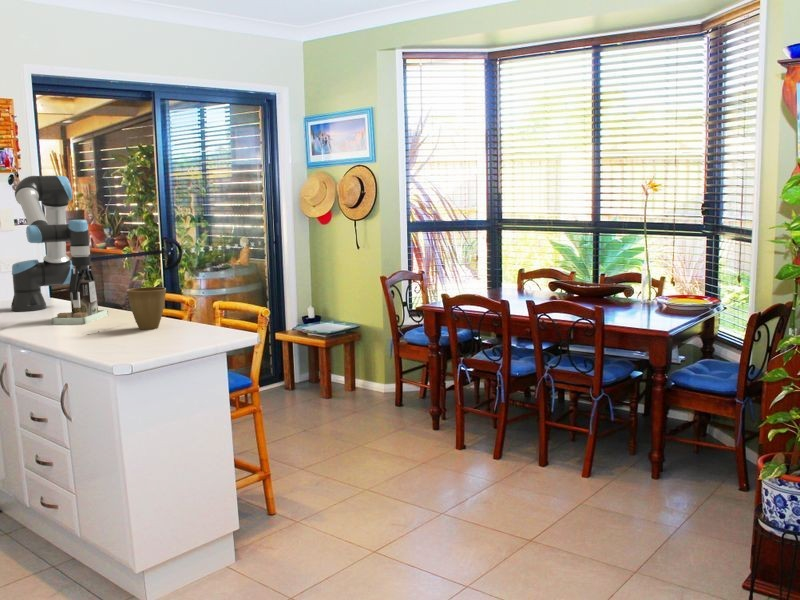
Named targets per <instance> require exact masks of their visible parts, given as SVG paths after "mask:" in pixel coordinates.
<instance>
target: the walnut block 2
mask: <svg viewBox="0 0 800 600" xmlns="http://www.w3.org/2000/svg"><path fill="white" fill-rule="evenodd" d="M87 316H88V314H87V313H82V312H79V313H75V314H73V318H84V317H87Z"/></svg>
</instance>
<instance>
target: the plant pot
mask: <svg viewBox="0 0 800 600" xmlns="http://www.w3.org/2000/svg"><path fill="white" fill-rule="evenodd" d="M166 292H167V288H166V287H160V286H154V287H153V286H149V287H148V286H147V287H144V286H143V287H134V288H127V290H126V293H127V297H128V298H127V299H128V301H129V302H128V303H129V305H130V309H131V312H132V315H133V318H134V320H135V323H136V325H137V327H138V329H139V330H143V329H147V330H154V329H155V328H156V329H158V328H159V326H160V323H161V320H162V316H163V312H164V308H165V301H166V295H167V293H166ZM156 329H155V330H156Z"/></svg>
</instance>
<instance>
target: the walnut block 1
mask: <svg viewBox="0 0 800 600" xmlns="http://www.w3.org/2000/svg"><path fill="white" fill-rule="evenodd" d="M56 317H57V318H71V315H70V312H59V313H57V316H56Z"/></svg>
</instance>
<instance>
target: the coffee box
mask: <svg viewBox="0 0 800 600" xmlns="http://www.w3.org/2000/svg"><path fill="white" fill-rule="evenodd" d="M96 284H97V280H95V281H85V280H81V283H80V287H79V290H78V292H79V294H80V308H73V296H72V292H69V293H70V294H69V295H70V305H71V312H72V318H73V314H75V313H79V312H82V313H87V314H88V316H90V315H93V314H96V313H98V310H99V305H98V295H97V293H98V291H97V287H96V286H97V285H96ZM68 285H69V286H70V283H69V284H68ZM69 286H68V287H69Z"/></svg>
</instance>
